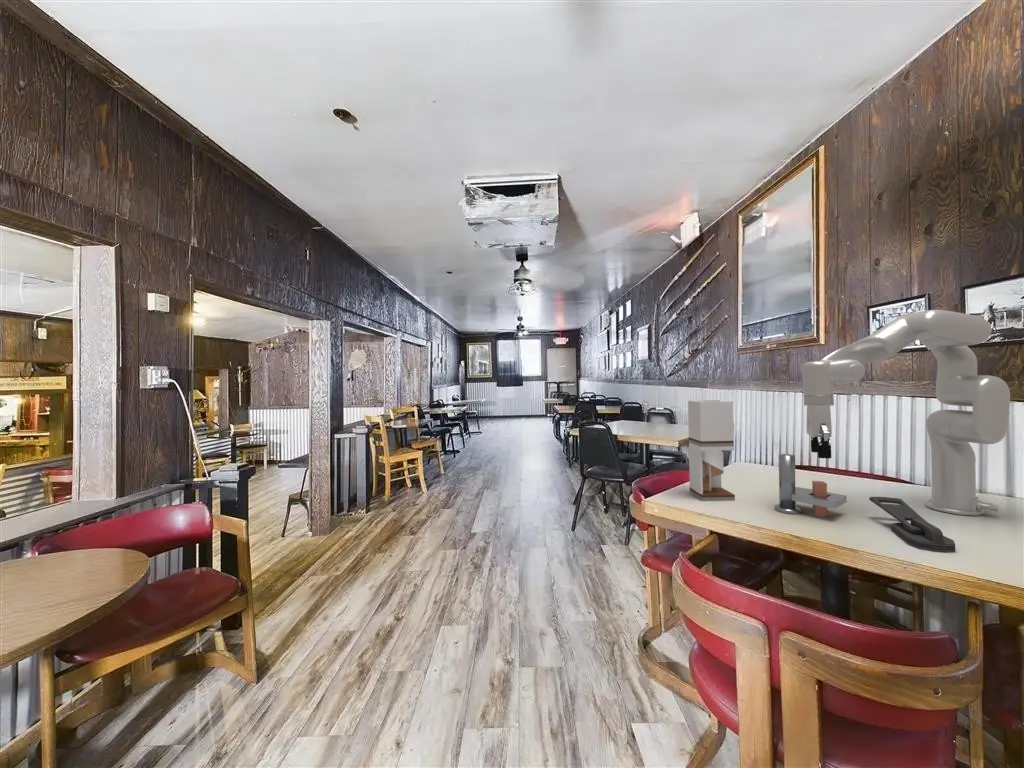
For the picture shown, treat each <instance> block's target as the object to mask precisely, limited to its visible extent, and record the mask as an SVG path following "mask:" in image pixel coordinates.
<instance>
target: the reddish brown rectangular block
mask: <svg viewBox="0 0 1024 768" xmlns="http://www.w3.org/2000/svg"><path fill="white" fill-rule="evenodd" d="M811 482H812V484H811V485H812V495H813V496H818V497H823V498H827V492H828V483H827V482H825V481H822V480H812V481H811ZM812 513H813V514H814V515H815V516H821V517H822V516H823V517H828V507H823V506H818V505H813V504H812Z"/></svg>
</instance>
